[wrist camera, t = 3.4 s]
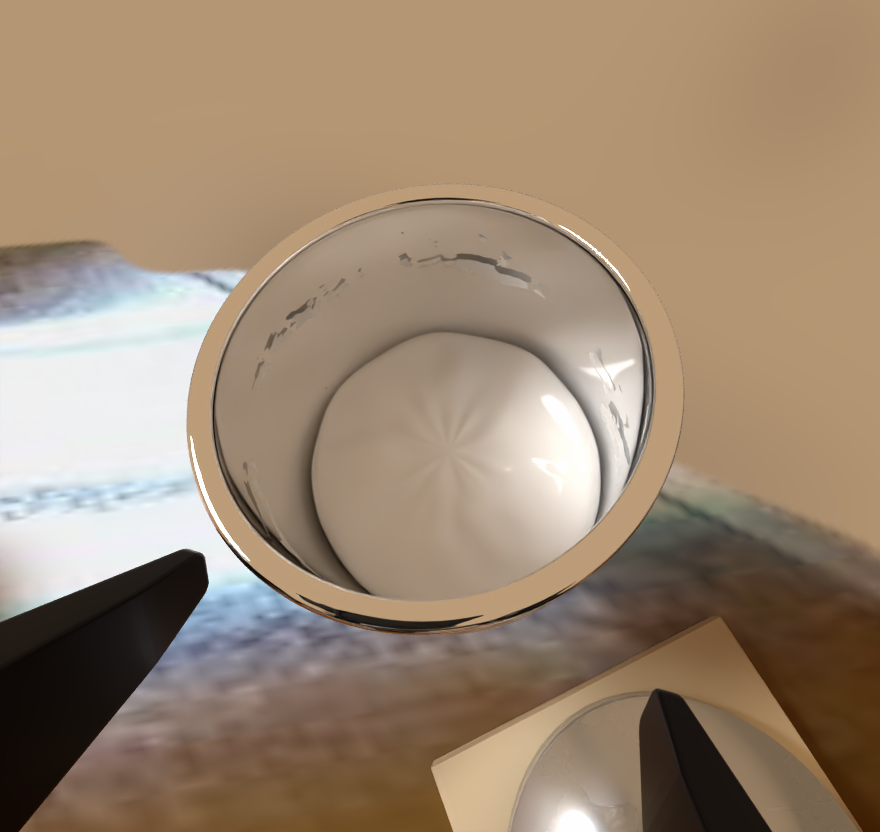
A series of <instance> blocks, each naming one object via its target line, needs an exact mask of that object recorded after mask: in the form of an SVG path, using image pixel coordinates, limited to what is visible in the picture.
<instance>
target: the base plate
mask: <svg viewBox="0 0 880 832" xmlns="http://www.w3.org/2000/svg"><path fill="white" fill-rule="evenodd" d="M656 688H659V689H663V690H666V691H669V692H673V693H676V694H678V695H683V696H687V697H690V698H693V699H696V700H699V701H702V702H705V703H708V704H711V705H713V706H715V707H717V708H719V709H721V710H723V711H725V712H727V713H729V714H731V715H734V716H736V717H738V718H740V719H742V720H744V721H746V722H748V723H749V724H751V725H752V726H754V727H756V728H757V729H759V730H760V731H762V732H764V733H765V734H767V735H768V736H770V737H771V738H772V739H774V740H775V741H776V742H778V743H779V744H780V745H781V746H783V747H784V748H785V749H787V750H788V751H789V752H790V753H792V754H793V755H794V756H795V757H796V758H797V759H798V760H799V761H800V762H801V763H802V764H803V765H804V766H806V767H807V768H808V769H809V770H810V771H811V772H812V773H813V774H814V775H815V776H816V777H817V778H818V780H819V781H820V782H821V783H822V784H823V785H824V786H825V788H826V789H827V790H828V791H829V792H830V793H831V794H832V796H833V797H834V798H835V799H836V800H837V802H838V803H839V805H840V806H841V807H842V809H843V810H844V811H845V813H846V814H847V816H848V817H849V818H850V820H851V821H852V822H853V824H854V825H855V827H856V828H857V830H858V832H863V831H862V829H861V828H860V826H859V825H858V823H857V822H856V820H855V819H854V817H853V816H852V814H851V813H850V811H849V810H848V808H847V807H846V805H845V804H844V802H843V801H842V799H841V798H840V796H839V794H838V793H837V791H836V790H835V788H834V787H833V785H832V784H831V782H830V781H829V779H828V778H827V776H826V775H825V773H824V772H823V770H822V769H821V767H820V766H819V764H818V763H817V761H816V760H815V758H814V757H813V755H812V754H811V752H810V751H809V749H808V748H807V746H806V745H805V743H804V742H803V740H802V739H801V737H800V736H799V734H798V733H797V731H796V730H795V728H794V727H793V725H792V724H791V722H790V721H789V719H788V718H787V716H786V715H785V713H784V711H783V710H782V708H781V707H780V705H779V704H778V702H777V701H776V699H775V698H774V696H773V695H772V693H771V692H770V690H769V689H768V687H767V686H766V684H765V683H764V681H763V680H762V678H761V677H760V675H759V674H758V672H757V671H756V669H755V668H754V666H753V665H752V663H751V662H750V660H749V659H748V657H747V656H746V654H745V653H744V651H743V650H742V648H741V647H740V645H739V644H738V642H737V641H736V639H735V638H734V636H733V635H732V633H731V632H730V630H729V629H728V627H727V625H726V624H725V622H724V621H723V619H722V618H721V617H716V616H710V617H709V618H707V619H705V620H703V621H701V622H699V623H697V624H695V625H693V626H691V627H689V628H687V629H685V630H684V631H682V632H680V633H678V634H676V635H674V636H672V637H670V638H668V639H666V640H664V641H662V642H661V643H659V644H657V645H655V646H653V647H651V648H649V649H647V650H645V651H643V652H641V653H639V654H638V655H636V656H634V657H632V658H630V659H628V660H626V661H624V662H622V663H620V664H618V665H616V666H614V667H613V668H611V669H609V670H607V671H605V672H603V673H601V674H599V675H597V676H595V677H593V678H591V679H590V680H588V681H586V682H584V683H582V684H580V685H578V686H576V687H574V688H572V689H570V690H568V691H567V692H565V693H563V694H561V695H559V696H557V697H555V698H553V699H551V700H549V701H547V702H545V703H543V704H542V705H540V706H538V707H536V708H534V709H532V710H530V711H528V712H526V713H524V714H522V715H520V716H519V717H517V718H515V719H513V720H511V721H509V722H507V723H505V724H503V725H501V726H499V727H497V728H496V729H494V730H492V731H490V732H488V733H486V734H484V735H482V736H480V737H478V738H476V739H474V740H472V741H471V742H469V743H467V744H465V745H463V746H461V747H459V748H457V749H455V750H453V751H451V752H449V753H448V754H446V755H444V756H442V757H440V758H438V759H436V760H434V762H433V764H432V767H431V769H432V772H433V775H434V778H435V781H436V784H437V786H438V789H439V792H440V795H441V798H442V801H443V803H444V806H445V809H446V812H447V815H448V818H449V820H450V823H451V826H452V829H453V832H508V827H509V822H510V817H511V812H512V808H513V804H514V801H515V798H516V795H517V792H518V789H519V786H520V783H521V781H522V779H523V777H524V775H525V772H526V770H527V768H528V766H529V764H530V762H531V761H532V759H533V758H534V756H535V754H536V753H537V751H538V750H539V748H540V746H541V745H542V744H543V743H544V741H545V740H546V739H547V738H548V737H549V736H550V734H551V733H552V732H553V731H554V730H555V729H556V728H557V727H558V726H559V725H560V724H561V723H563V722H564V721H565V720H566V719H567V718H568V717H569V716H571V715H572V714H574V713H576V712H577V711H579V710H580V709H582V708H584V707H585V706H587V705H589V704H591V703H594V702H596V701H598V700H601V699H603V698H606V697H610V696H614V695H618V694H621V693H627V692H638V691H653V690H654V689H656Z"/></svg>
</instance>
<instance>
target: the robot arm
mask: <svg viewBox="0 0 880 832" xmlns="http://www.w3.org/2000/svg"><path fill="white" fill-rule="evenodd" d="M208 584H209V580H208V573H207V567H206V561H205V557H204V555H203V554H202V553H200V552H197V551H193V550H190V549H182V550H179V551H176V552H174V553H171V554H169V555H166V556H164V557H161V558H159V559H156V560H154V561H151V562H149V563H146V564H144V565H142V566H139V567H137V568H134V569H132V570H129V571H127V572H124V573H122V574H119V575H117V576H114V577H112V578H109V579H107V580H104V581H102V582H99V583H97V584H94V585H92V586H89V587H87V588H84V589H82V590H79V591H77V592H74V593H72V594H69V595H67V596H64V597H62V598H59V599H57V600H54V601H52V602H49V603H47V604H44V605H42V606H39V607H37V608H34V609H32V610H29V611H27V612H24V613H22V614H19V615H17V616H14V617H12V618H9V619H7V620H4V621H2V622H0V832H19V831H20V830H21V828H22V827H23V826H24V825H25V824H26V822H27V821H28V820H29V819H30V817H31V816H32V815H33V814H34V813H35V811H36V810H37V809H38V808H39V806H40V805H41V804H42V803H43V802H44V800H45V799H46V798H47V797H48V795H49V794H50V793H51V792H52V791H53V789H54V788H55V787H56V786H57V785H58V783H59V782H60V781H61V780H62V778H63V777H64V776H65V775H66V774H67V772H68V771H69V770H70V769H71V767H72V766H73V765H74V764H75V763H76V761H77V760H78V759H79V758H80V756H81V755H82V754H83V753H84V752H85V750H86V749H87V748H88V747H89V745H90V744H91V743H92V742H93V741H94V739H95V738H96V737H97V736H98V735H99V733H100V732H101V731H102V730H103V728H104V727H105V726H106V725H107V724H108V722H109V721H110V720H111V719H112V717H113V716H114V715H115V714H116V713H117V711H118V710H119V709H120V708H121V706H122V705H123V704H124V703H125V702H126V700H127V699H128V698H129V697H130V696H131V694H132V693H133V692H134V691H135V689H136V688H137V687H138V686H139V685H140V683H141V682H142V681H143V680H144V678H145V677H146V676H147V675H148V674H149V672H150V671H151V670H152V668H153V667H154V666H155V665H156V663H157V662H158V661H159V659H160V658H161V657H162V655H163V654H164V652H165V651H166V650H167V648H168V647H169V645H170V644H171V642H172V641H173V640H174V638H175V637H176V635H177V634H178V632H179V631H180V629H181V628H182V626H183V625H184V624H185V622H186V621H187V619H188V618H189V616H190V615H191V613H192V612H193V610H194V609H195V608H196V606H197V605H198V603H199V602H200V600H201V599H202V597H203V596H204V594H205V593H206V591H207V588H208ZM639 749H640V776H641V803H642V826H643V832H772V830H771V829H770V827H769V826H768V824H767V823H766V821H765V820H764V818H763V817H762V815H761V814H760V812H759V811H758V809H757V808H756V806H755V805H754V803H753V802H752V800H751V799H750V797H749V796H748V794H747V793H746V791H745V790H744V788H743V787H742V785H741V784H740V782H739V781H738V779H737V778H736V776H735V775H734V773H733V772H732V770H731V769H730V767H729V766H728V764H727V763H726V761H725V760H724V758H723V757H722V755H721V754H720V752H719V751H718V749H717V748H716V746H715V745H714V743H713V742H712V740H711V739H710V737H709V736H708V734H707V733H706V731H705V730H704V728H703V727H702V725H701V724H700V722H699V721H698V719H697V718H696V716H695V715H694V713H693V712H692V710H691V709H690V707H689V706H688V704H687V703H686V701H685V700H684V699H683V698H682V697H681V696H680V695H678V694H676V693H673V692H669V691H666V690H663V689H659V688H656V689H654V690H653V691H652V693H651V695H650V697H649V699H648V702H647V704H646V706H645V708H644V711H643V713H642V715H641V718H640V723H639Z"/></svg>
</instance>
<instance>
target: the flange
mask: <svg viewBox="0 0 880 832" xmlns="http://www.w3.org/2000/svg"><path fill="white" fill-rule="evenodd" d="M651 693H652V691H638V692H627V693H621V694H618V695H614V696H610V697H606V698H603V699H601V700H598V701H596V702H594V703H591V704H589V705H587V706H585V707H584V708H582V709H580V710H579V711H577V712H576V713H574V714H572V715H571V716H569V717H568V718H567V719H566V720H565V721H564V722H563V723H561V724H560V725H559V726H558V727H557V728H556V729H555V730H554V731H553V732H552V733H551V734H550V736H549V737H548V738H547V739H546V740H545V741H544V743H543V744H542V745H541V746H540V748H539V750H538V751H537V753H536V754H535V756H534V758H533V759H532V761H531V762H530V764H529V766H528V768H527V770H526V772H525V775H524V777H523V779H522V781H521V783H520V786H519V789H518V792H517V795H516V798H515V801H514V804H513V808H512V812H511V817H510V822H509V827H508V832H643V826H642V803H641V776H640V749H639V723H640V718H641V715H642V713H643V711H644V708H645V706H646V704H647V702H648V699H649V697H650V695H651ZM680 696H681V697H682V698H683V699H684V700H685V701H686V703H687V704H688V706H689V707H690V709H691V710H692V712H693V713H694V715H695V716H696V718H697V719H698V721H699V722H700V724H701V725H702V727H703V728H704V730H705V731H706V733H707V734H708V736H709V737H710V739H711V740H712V742H713V743H714V745H715V746H716V748H717V749H718V751H719V752H720V754H721V755H722V757H723V758H724V760H725V761H726V763H727V764H728V766H729V767H730V769H731V770H732V772H733V773H734V775H735V776H736V778H737V779H738V781H739V782H740V784H741V785H742V787H743V788H744V790H745V791H746V793H747V794H748V796H749V797H750V799H751V800H752V802H753V803H754V805H755V806H756V808H757V809H758V811H759V812H760V814H761V815H762V817H763V818H764V820H765V821H766V823H767V824H768V826H769V827H770V829H771V830H772V832H858V830H857V828H856V827H855V825H854V824H853V822H852V821H851V820H850V818H849V817H848V816H847V814H846V813H845V811H844V810H843V809H842V807H841V806H840V805H839V803H838V802H837V800H836V799H835V798H834V797H833V796H832V794H831V793H830V792H829V791H828V790H827V789H826V788H825V786H824V785H823V784H822V783H821V782H820V781H819V780H818V778H817V777H816V776H815V775H814V774H813V773H812V772H811V771H810V770H809V769H808V768H807V767H806V766H804V765H803V764H802V763H801V762H800V761H799V760H798V759H797V758H796V757H795V756H794V755H793V754H792V753H790V752H789V751H788V750H787V749H785V748H784V747H783V746H781V745H780V744H779V743H778V742H776V741H775V740H774V739H772V738H771V737H770V736H768V735H767V734H765V733H764V732H762V731H760V730H759V729H757V728H756V727H754V726H752V725H751V724H749V723H748V722H746V721H744V720H742V719H740V718H738V717H736V716H734V715H731V714H729V713H727V712H725V711H723V710H721V709H719V708H717V707H715V706H713V705H711V704H708V703H705V702H702V701H699V700H696V699H693V698H690V697H687V696H683V695H680Z"/></svg>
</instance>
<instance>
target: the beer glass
mask: <svg viewBox="0 0 880 832" xmlns="http://www.w3.org/2000/svg"><path fill="white" fill-rule="evenodd" d="M683 412H684V378H683V368H682V361H681V356H680V351H679V347H678V343H677V340H676V336H675V333H674V330H673V327H672V324H671V322H670V319H669V317H668V315H667V312H666V310H665V308H664V306H663V304H662V302H661V300H660V298H659V297H658V295H657V293H656V291H655V290H654V288H653V287H652V285H651V284H650V282H649V281H648V279H647V278H646V276H645V275H644V274H643V272H642V271H641V270H640V269H639V267H638V266H637V265H636V264H635V263H634V261H633V260H632V259H631V258H630V257H629V256H628V255H627V254H626V253H625V252H624V251H623V250H622V249H621V248H620V247H619V246H618V245H617V244H616V243H615V242H613V241H612V240H611V239H610V238H609V237H608V236H606V235H605V234H604V233H602V232H601V231H600V230H598V229H597V228H596V227H594V226H593V225H591V224H590V223H588V222H587V221H585V220H583V219H582V218H580V217H578V216H577V215H575V214H573V213H571V212H569V211H567V210H565V209H563V208H561V207H558V206H556V205H554V204H552V203H549V202H547V201H544V200H542V199H539V198H536V197H533V196H530V195H527V194H523V193H520V192H515V191H512V190H507V189H502V188H496V187H490V186H482V185H472V184H432V185H421V186H413V187H407V188H401V189H396V190H391V191H387V192H383V193H379V194H375V195H372V196H369V197H365V198H362V199H359V200H357V201H354V202H351V203H349V204H346V205H344V206H341V207H339V208H337V209H335V210H333V211H330V212H328V213H326V214H324V215H322V216H320V217H318V218H317V219H315V220H313V221H311V222H310V223H308V224H306V225H305V226H303V227H302V228H300V229H298V230H297V231H296V232H294V233H293V234H291V235H290V236H288V237H287V238H285V239H284V240H283V241H281V242H280V243H279V244H278V245H276V246H275V247H274V248H273V249H272V250H270V251H269V252H268V253H267V254H266V255H265V256H264V257H262V259H260V260H259V261H258V263H256V264H255V265H254V266H253V267H252V268H251V269H250V270H249V271H248V272H247V274H246V275H245V276H244V277H243V278H242V279H241V281H240V282H239V283H238V284H237V285H236V287H235V288H234V289H233V291H232V292H231V293H230V295H229V296H228V298H227V299H226V300H225V302H224V303H223V305H222V307H221V308H220V310H219V311H218V313H217V315H216V316H215V318H214V320H213V322H212V324H211V326H210V328H209V330H208V332H207V334H206V336H205V338H204V340H203V343H202V346H201V348H200V351H199V354H198V357H197V360H196V363H195V366H194V370H193V374H192V378H191V383H190V388H189V394H188V403H187V419H186V432H187V446H188V454H189V459H190V465H191V469H192V474H193V477H194V481H195V484H196V487H197V490H198V493H199V496H200V498H201V500H202V503H203V505H204V507H205V509H206V511H207V513H208V515H209V517H210V519H211V521H212V523H213V525H214V526H215V528H216V530H217V531H218V533H219V534H220V536H221V537H222V539H223V540H224V541H225V543H226V544H227V545H228V547H229V548H230V549H231V550H232V552H233V553H234V554H235V555H236V556H237V558H238V559H239V560H240V561H241V562H242V563H243V564H244V565H245V566H246V567H247V568H248V569H249V570H250V571H251V572H252V573H254V574H255V575H256V576H257V577H258V578H259V579H261V580H262V581H263V582H264V583H265V584H267V585H268V586H269V587H271V588H272V589H273V590H275V591H276V592H278V593H279V594H281V595H282V596H284V597H285V598H287V599H288V600H290V601H292V602H294V603H296V604H297V605H299V606H301V607H303V608H305V609H307V610H309V611H311V612H313V613H316V614H318V615H320V616H323V617H325V618H328V619H331V620H334V621H336V622H339V623H343V624H346V625H350V626H354V627H358V628H362V629H366V630H372V631H378V632H385V633H394V634H408V635H429V634H438V635H454V634H467V633H474V632H481V631H485V630H490V629H494V628H497V627H501V626H504V625H507V624H510V623H513V622H515V621H518V620H520V619H523V618H525V617H527V616H529V615H531V614H533V613H535V612H537V611H539V610H541V609H542V608H544V607H546V606H547V605H549V604H550V603H552V602H553V601H555V600H556V599H558V598H559V597H560V596H562V595H563V594H565V593H567V592H568V591H570V590H571V589H573V588H574V587H576V586H577V585H579V584H580V583H582V582H583V581H584V580H586V579H587V578H588V577H590V576H591V575H592V574H594V573H595V572H596V571H597V570H598V569H599V568H601V567H602V566H603V565H604V564H605V563H606V562H607V561H608V560H609V559H611V558H612V557H613V556H614V555H615V554H616V553H617V552H618V551H619V550H620V548H621V547H622V546H623V545H624V544H625V543H626V542H627V541H628V539H629V538H630V537H631V536H632V535H633V534H634V532H635V531H636V530H637V528H638V527H639V526H640V524H641V523H642V522H643V520H644V519H645V517H646V516H647V514H648V513H649V511H650V509H651V508H652V506H653V504H654V503H655V501H656V499H657V497H658V495H659V493H660V491H661V489H662V487H663V485H664V483H665V481H666V478H667V476H668V474H669V471H670V468H671V466H672V463H673V460H674V457H675V453H676V450H677V446H678V442H679V438H680V433H681V426H682V419H683Z"/></svg>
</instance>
